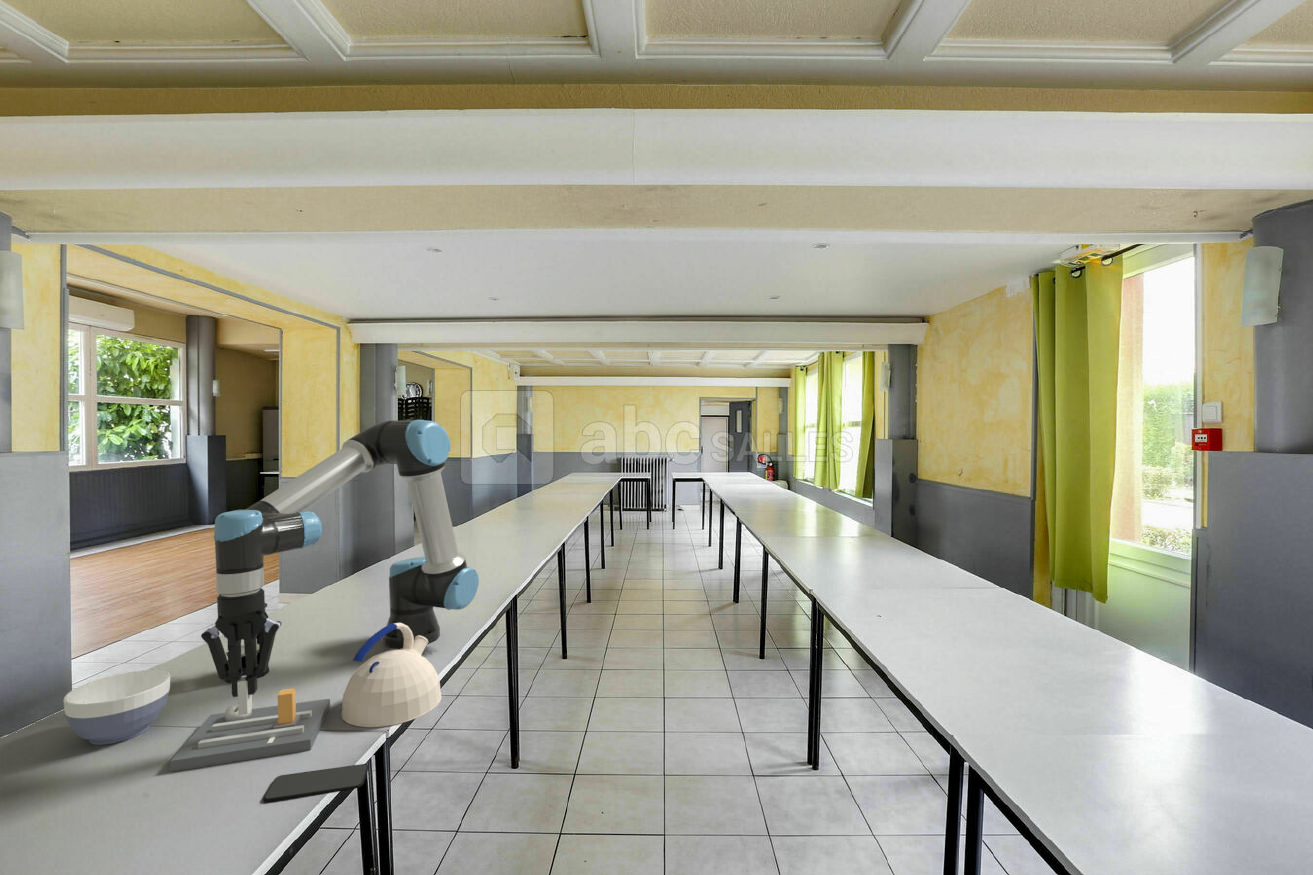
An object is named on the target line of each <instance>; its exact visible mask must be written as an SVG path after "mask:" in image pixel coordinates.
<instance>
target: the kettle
mask: <svg viewBox="0 0 1313 875" xmlns="http://www.w3.org/2000/svg"><path fill="white" fill-rule="evenodd" d="M395 629H400V630H401V631H402V633H403V637H404V645H403V648H400V649H391V650H390V649H389V650H386V651H383V652H381V653H379V654H376V655H373V656H372V657H370V658H369V659H367V660H366V661H365V662H364V663H362V664H360V666H359V667H358V668H357V669H356V670H355V671H354V673H353V674H352V675H351V677H350V678H349V679H348V682H347V685H346V687H345V690H344V693H343V695H342V703H341V704H342V705H341V712H340V714H341V718H342V720H343V721H344V722H346V723H347V724H348V725H352V726H355V727H358V728H359V727H360V728H385V727H390V726H397V725H400V724H404V723H408V722H410V721H413V720H415V719H418V718H421V717H423V716H425V715H426V714H428V713H430V712H431V711H433V709H435V708H436V707H437V706H438V705H439V704H440V702H441V700H442V693H441V692H442V691H441V683H440V677H439V674H438V672H437V670H436V668H435V667H434V665H433V664H432V663H431V662H430V661H429V660H428V659H427V658H426V657H425V656H423V655H422V654H423V652H424V651H425V649H426V646H427V645H428V644H429V643H428V640H427V639H426V638H425V637H423V636H420V635H418V636H416V637H415V639H414V637H413V634H412V631H411V630H410V628H409V627H408V626H407V625H405V624H403V623H394V624H389V625H388V626H387V625H386V626H383V627H382V628H381V629H379V630H378V631H377V632H375V633H374V634H372V636H371V637H369V638H368V639H367V640H366V641H365V642H364V643H363V645H362V646H361V647H360V648H359V649H358V651H357V653H355V655H354V657H353V658H352V661H354V662H362V661H364V659H365V658H366V655H368V653H369V652H370V650H371V649H372V648H374V646H375V645H376V644H377V643H378V642H379V641H380V640H381V639H382V638H384V636H385V635H386V634H388V633H389V632H391V631H393V630H395Z"/></svg>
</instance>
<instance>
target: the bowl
mask: <svg viewBox="0 0 1313 875" xmlns="http://www.w3.org/2000/svg"><path fill="white" fill-rule="evenodd" d="M170 689H171V673H169V672H168V671H166V670H160V669H144V670H136V671H127V672H123V673H120V674H119V673H118V674H114V675H109V676H105V677H103V678H99V679H96V680H93V681H90V682H87V683H85V684H82V685H80V686H78V687H76V688H74V689H72V690H70V691H69V692H68V693H66V695H65V696H64V697H63V708H64V714H65V717H66V719H67V722H68V725H69V727H70V728H71V729H72V731H73V732H74V733H75V734H76V735H77V736H78V737H80V738H83V739H85V740H87V741H88V742H89V743H90V744H91V745H95V746H97V745H98V746H102V745H103V746H104V745H110V744H111V745H112V744H116V743H117V744H118V743H121V742H124V741H126V740H130V739H133V738H135V737H137V736H139V735H142V734H143V733H145V732H146V731H147V730H149V729H150V727H151V724H152V723H153V722H154V721H156V720H157V718H158V717H159V716H160V715H161V713H162V711H163V710H164V707H165V706H166V704H167V703H168V698H169V694H170ZM83 702H84V703H83Z"/></svg>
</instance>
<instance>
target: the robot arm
mask: <svg viewBox="0 0 1313 875" xmlns="http://www.w3.org/2000/svg"><path fill="white" fill-rule="evenodd" d="M450 451H451V439H450V437H449V434H448V432H447V431H446V429H445V428H444V427H443V426H442V425H440V424H439V423H438V422H436V421H432V420H424V419H409V420H406V419H405V420H404V419H403V420H386V421H382V422H378V423H376V424H374V425H372V426H369V427H368V428H366V429H364V430H362V431H361V432H359V433H357V434H355V435H354V436H352V437H351V438H349V439H347V440H346V441H345V442H343V443H342V446H341V449H339V450H338V451H335V452H334V453H333V454H331V455H330V456H328V457H326V458H325V459H323V460H321V461H320V462H318V463H317V464H316V465H314V466H313V467H310V468H309V469H308V470H306V471H305V472H302V473H301V474H300V475H298V476H297V477H295V478H293V479H292V480H291V481H289V482H287V483H285V484H284V485H283V486H280V487H279V488H277V489H276V490H275V491H273V492H272V493H270V494H268V495H266V496H265V497H264V498H262V499H261V500H259V501H257V502H255V503H254V504H252V505H251V506H249V507H247V508H245V509H237V510H231V511H226V512H222V513H220V514H218V515H217V516H216V518H215V521H214V531H213V532H214V535H213V540H214V548H215V550H214V552H215V554H214V555H215V567H216V568H215V569H216V572H215V574H216V579H215V580H216V593H217V594H218V596H217V597H216V600H217V601H216V602H217V603H216V604H217V605H216V606H217V607H216V608H217V618H216V621H215V622H214V625H213V626H212V627H209V628H207V629H206V630H205V631H203V633H201V635H200V637H201V639H202V640H203V642H205V643H206V644H207V646H208V649H209V652H210V654H211V655H210V656H211V658H212V661H213V663H214V666H215V670H216V672H217V675H218V678H219V679H220V680H222V681H224V679H228V680H230V681H231V683H230V684H231V696H232V697H233V698H237V704H238V715H243V714H248V712H249V711H250V710H251V708H252V709H253V698H252V696H253V695H255V694H256V692H257V690H258V678H257V676H258V675H261V674H263V673H264V672H265V670H266V669H267V668H268V667H269V665H270V664H269V663H270V659H271V655H272V651H273V648H274V642H275V638H276V635H277V632H278V631H279V629H280V627H281V626H282V622H281V621H280V620H278V621H275V620H272V619H270V618H269V615H268V613H267V612H266V608H265V603H266V601H265V600H266V599H265V596H266V595H265V590H264V589H263V587H264V586H265V576H264V575H265V572H264V571H265V570H264V556H270V555H273V554H278V553H283V552H288V551H294V550H298V549H304V548H306V547H310V546H313V545H315V544H316V543H317V542H319V541H320V539H321V536H322V532H323V529H322V527H323V526H322V525H323V524H322V522H321V520H320V518H319V516H318V515H317V514H316V513H315V512H313V511H310V510H309V508H311V507H313V506H314V505H316V504H317V503H318V502H320V501H321V500H323V499H325V497H327V496H328V495H330V494H332V493H333V492H335V491H336V490H337V489H339V488H340V487H341V486H344V485H345V483H347V482H349V481H350V480H352V479H353V478H355V477H356V476H357V475H359V474H361V473H364V474H366V473H368V472H370V471H372V470H374V469H375V468H377V467H380V466H385V465H396V466H397V471H398V475H399V477H400V478H403V479H405V480H406V481H407V486H408V489H409V494H410V498H411V503H412V508H413V511H414V516H415V520H416V521H415V522H416V524H417V528H418V532H419V533H418V534H419V537H420V538H419V539H420V542H421V546H422V550H423V555H424V556H419V557H418V556H417V557H413V558H408V559H407V558H406V559H404V560H403V559H402V560H399V561H395V562H394V563H392V564H391V565H390V567H389V577H388V585H389V587H388V588H389V590H388V591H389V593H388V594H389V618H388V620H387V622H386V626H388V625H389V624H394V623H403V624H405V625H407V626H408V627H409V628H410V630H411V631H412V634H413V637H414V639H415V637H416V636H418V635H420V636H423V637H425V638H426V639H427V640H428V644H429V643H432V642H434V641H436V640H437V639H439V637H440V636H441V628H440V625H439V620H438V619H437V615H436V614H435V611H434V608H440V609H446V610H449V611H451V610H456V611H459V610H462V609H464V608H466V607H468V606H469V605H470V604H471V603H472V601H473V600H474V599H475V596H476V595H477V592H478V589H479V584H480V581H479V580H480V578H479V574H478V572H477V570H476V569H475V568H473V567H470V566H468V565H467V560H466V557H465V555H464V554H463V553H461V552H459V551H458V546H457V541H456V537H455V532H454V528H453V523H452V518H451V515H450V509H449V504H448V501H447V497H446V496H447V495H446V490H445V486H444V482H443V478H442V477H443V476H442V472H443V470H444V468H445V467H446V464H445V462H446V460H448V457H449V455H450V453H449V452H450ZM308 510H309V511H308ZM264 625H265V626H266V628H265V631H266V632H267V634H266V637H265V640H264V644H263V648H262V653H261V657H260V661H259V665H258V667H257V648H256V643H257V634H258V633H259V631H260V630H261V628H262V627H263V626H264ZM220 634H221V635H223V637H224V636H225V637H226V639H228V640H227V648H228V647H229V654H230V666H229V663H228V656H227V654H226V652H225V649H224V646H223V642H222V640H221V637H220ZM225 637H224V638H225ZM242 640H243V645H245V659H246V676H242V677H241V675H242V673H243V672H242V658H241V645H242ZM383 644H384V645H385V646H387V647H389V648H390V647H391V648H400V649H401V648H403V645H404V637H403V633H402V631H401V630H400V629H395V630H393V631H391V632H389V633H388V634H386V635H385V636H384V637H383Z"/></svg>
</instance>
